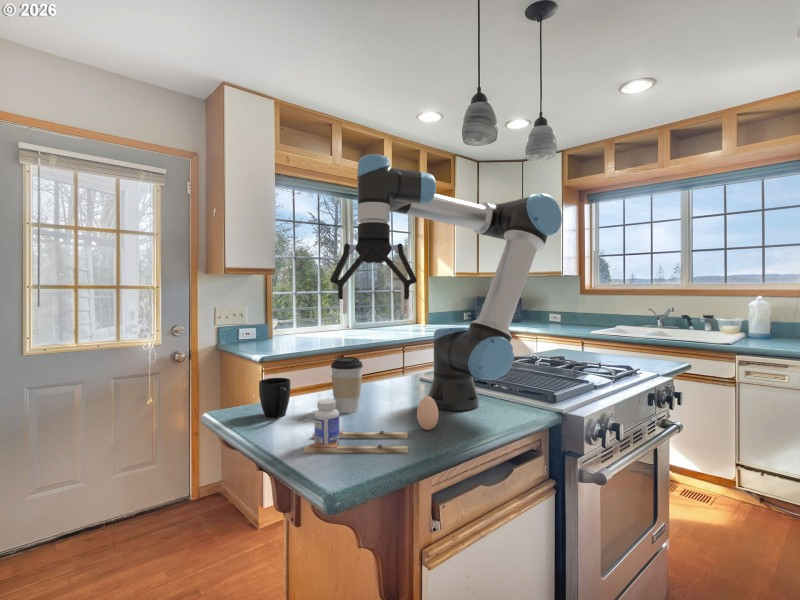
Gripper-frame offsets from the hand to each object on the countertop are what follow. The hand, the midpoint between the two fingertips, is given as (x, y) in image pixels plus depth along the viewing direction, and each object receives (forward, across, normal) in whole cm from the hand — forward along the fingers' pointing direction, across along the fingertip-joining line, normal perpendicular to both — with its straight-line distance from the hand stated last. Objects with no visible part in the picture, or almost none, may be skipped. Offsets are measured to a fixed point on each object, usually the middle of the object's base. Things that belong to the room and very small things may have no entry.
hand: (373, 313), depth 101 cm
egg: (+29, -13, -3) cm, 32 cm away
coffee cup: (+29, +9, -20) cm, 36 cm away
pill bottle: (+29, +10, +7) cm, 31 cm away
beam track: (+29, +3, +7) cm, 30 cm away
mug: (+29, +27, -13) cm, 42 cm away
